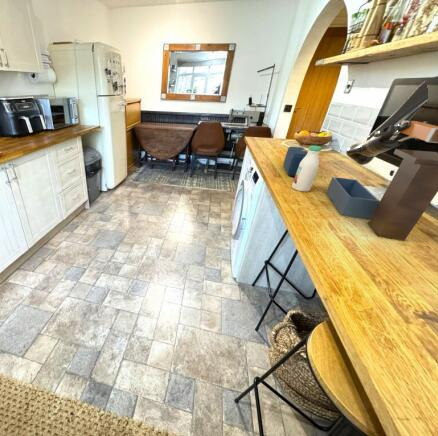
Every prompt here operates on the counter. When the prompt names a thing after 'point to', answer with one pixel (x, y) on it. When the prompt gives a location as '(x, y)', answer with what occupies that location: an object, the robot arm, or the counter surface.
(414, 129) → the orange brown bar
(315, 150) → the milk bottle
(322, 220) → the counter surface
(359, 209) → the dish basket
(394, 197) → the shelf stand
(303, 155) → the radio
